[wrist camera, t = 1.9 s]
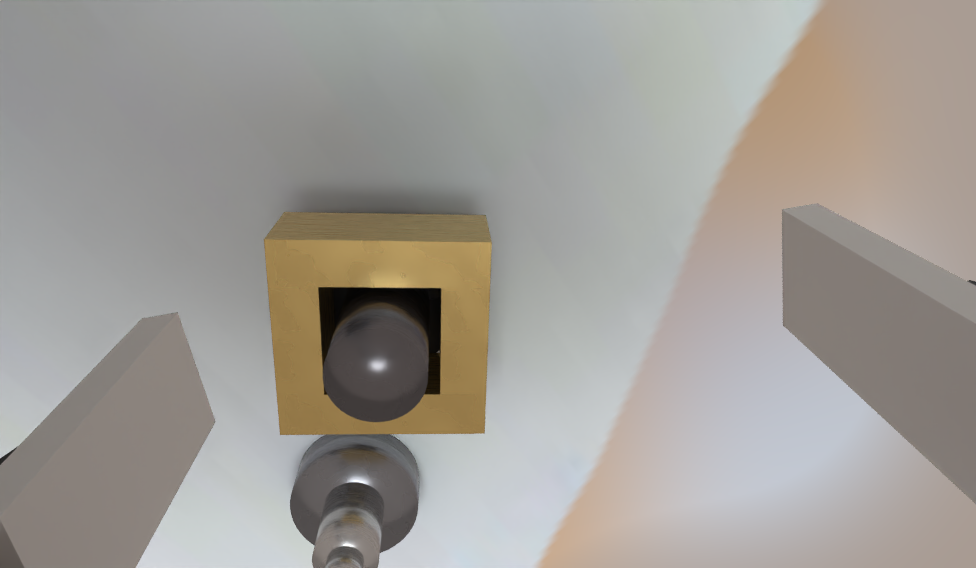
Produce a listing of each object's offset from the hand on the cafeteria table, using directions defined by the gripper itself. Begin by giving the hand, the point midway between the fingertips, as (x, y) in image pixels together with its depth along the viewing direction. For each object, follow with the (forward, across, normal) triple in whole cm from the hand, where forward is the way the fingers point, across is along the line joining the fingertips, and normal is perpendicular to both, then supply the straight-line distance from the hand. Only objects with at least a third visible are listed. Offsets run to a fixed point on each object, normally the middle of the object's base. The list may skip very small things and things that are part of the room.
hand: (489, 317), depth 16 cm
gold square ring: (+17, -5, -6) cm, 19 cm away
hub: (+20, -9, -18) cm, 28 cm away
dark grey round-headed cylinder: (+20, -5, -6) cm, 22 cm away
